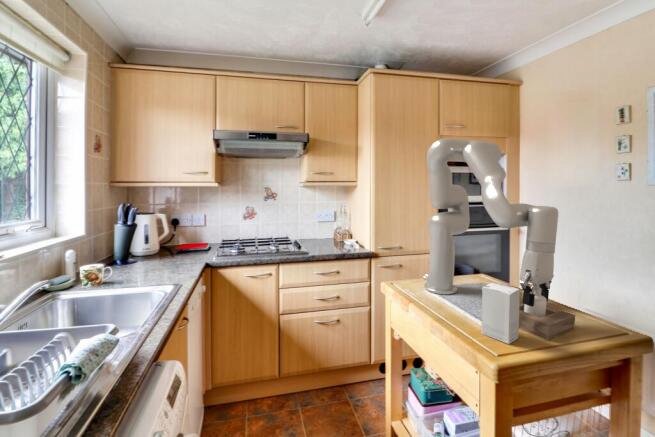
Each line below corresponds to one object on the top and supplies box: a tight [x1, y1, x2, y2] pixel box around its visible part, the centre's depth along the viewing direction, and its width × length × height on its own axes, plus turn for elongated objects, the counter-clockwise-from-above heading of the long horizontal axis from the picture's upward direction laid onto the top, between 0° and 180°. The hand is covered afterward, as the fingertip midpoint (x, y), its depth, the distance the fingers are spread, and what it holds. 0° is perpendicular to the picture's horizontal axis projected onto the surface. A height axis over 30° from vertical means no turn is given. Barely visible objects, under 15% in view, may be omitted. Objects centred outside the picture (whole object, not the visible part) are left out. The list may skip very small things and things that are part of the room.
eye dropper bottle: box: [524, 285, 548, 318], centre depth 101 cm, size 4×6×12 cm
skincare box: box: [481, 282, 521, 345], centre depth 93 cm, size 8×6×15 cm
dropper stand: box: [519, 297, 576, 341], centre depth 102 cm, size 16×14×4 cm
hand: (535, 302), depth 101 cm, fingers open, 6 cm apart
